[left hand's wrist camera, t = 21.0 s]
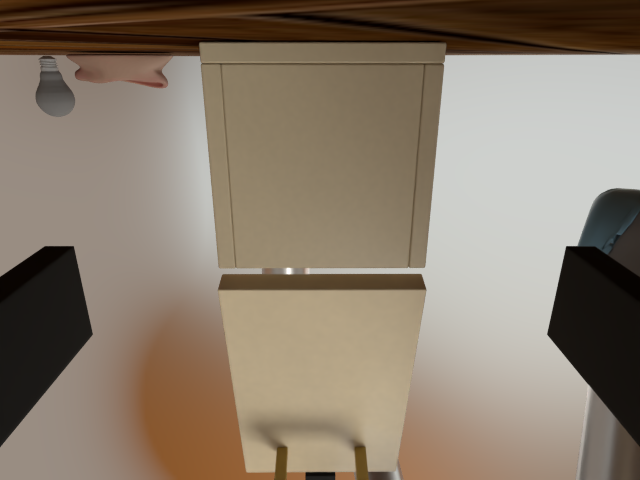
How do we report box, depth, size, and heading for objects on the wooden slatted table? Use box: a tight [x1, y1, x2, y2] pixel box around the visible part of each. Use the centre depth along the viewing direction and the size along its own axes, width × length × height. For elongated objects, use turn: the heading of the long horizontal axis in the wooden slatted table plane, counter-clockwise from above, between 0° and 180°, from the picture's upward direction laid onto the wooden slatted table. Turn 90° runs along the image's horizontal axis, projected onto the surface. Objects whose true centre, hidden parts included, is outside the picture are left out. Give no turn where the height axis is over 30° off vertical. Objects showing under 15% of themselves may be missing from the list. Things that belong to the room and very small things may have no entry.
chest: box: [199, 42, 446, 268], centre depth 28 cm, size 15×10×10 cm
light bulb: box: [36, 56, 75, 117], centre depth 79 cm, size 6×6×10 cm
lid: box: [218, 274, 426, 480], centre depth 24 cm, size 16×10×8 cm
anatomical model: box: [66, 54, 173, 88], centre depth 52 cm, size 13×4×12 cm
